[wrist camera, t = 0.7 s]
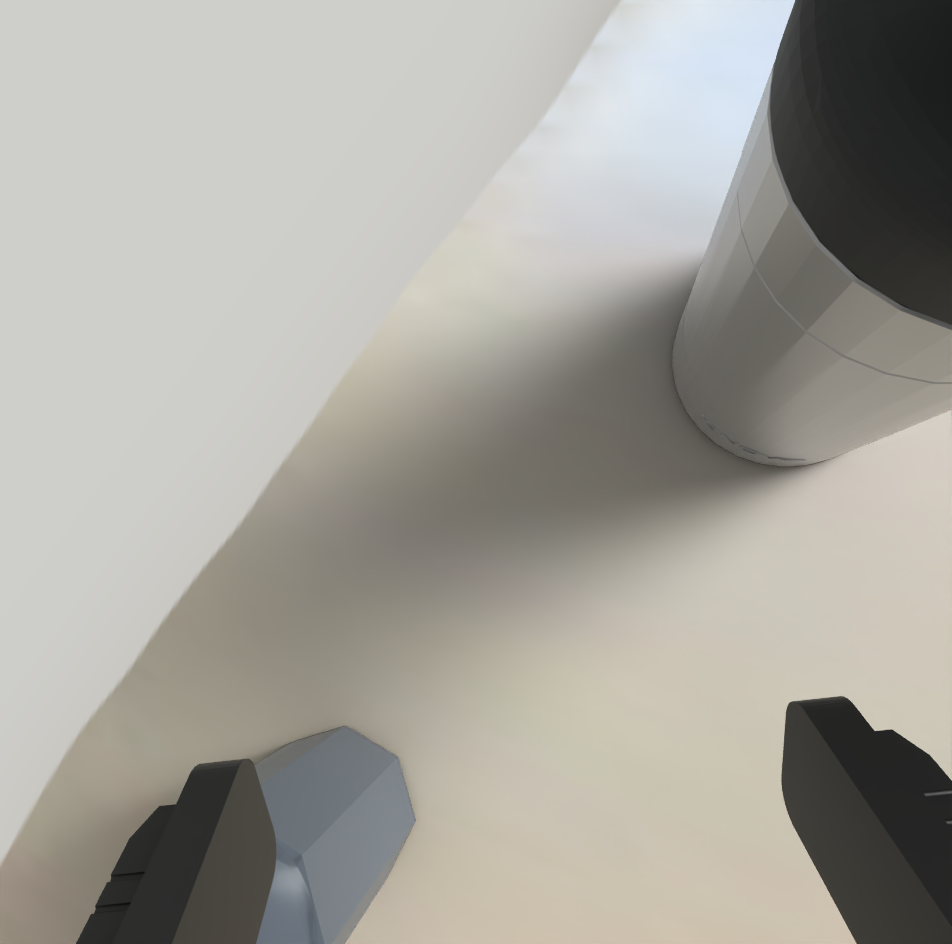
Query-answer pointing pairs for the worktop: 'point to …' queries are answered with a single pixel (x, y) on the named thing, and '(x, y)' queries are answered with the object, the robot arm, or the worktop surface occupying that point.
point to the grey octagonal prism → (330, 833)
